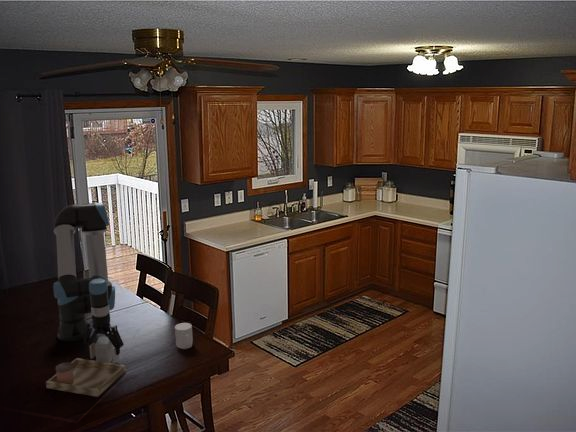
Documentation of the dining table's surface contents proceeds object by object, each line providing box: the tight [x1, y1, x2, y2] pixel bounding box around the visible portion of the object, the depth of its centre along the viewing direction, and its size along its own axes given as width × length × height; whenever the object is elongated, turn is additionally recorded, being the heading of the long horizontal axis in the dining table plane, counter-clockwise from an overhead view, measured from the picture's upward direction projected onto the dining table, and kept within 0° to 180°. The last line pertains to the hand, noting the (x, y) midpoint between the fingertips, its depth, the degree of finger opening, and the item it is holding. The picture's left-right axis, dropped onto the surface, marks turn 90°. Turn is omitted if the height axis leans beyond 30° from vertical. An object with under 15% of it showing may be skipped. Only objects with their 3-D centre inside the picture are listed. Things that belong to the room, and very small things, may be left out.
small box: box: [95, 335, 114, 363], centre depth 238 cm, size 8×6×10 cm
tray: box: [45, 357, 126, 398], centre depth 223 cm, size 24×20×4 cm
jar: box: [55, 361, 74, 385], centre depth 219 cm, size 6×6×8 cm
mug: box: [174, 322, 194, 350], centre depth 252 cm, size 12×9×8 cm
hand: (105, 358), depth 239 cm, fingers open, 11 cm apart
